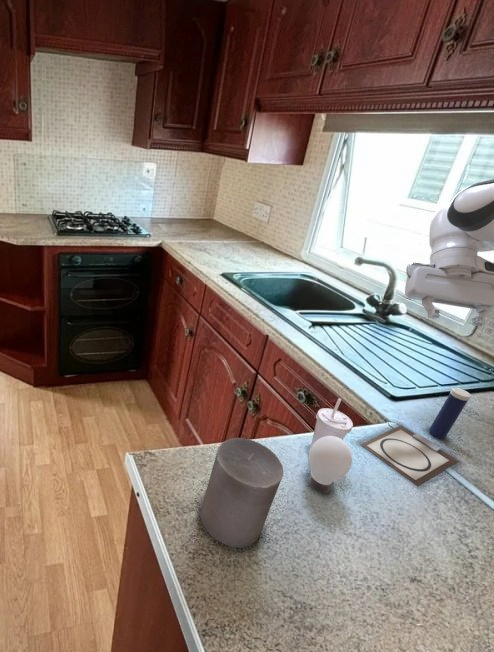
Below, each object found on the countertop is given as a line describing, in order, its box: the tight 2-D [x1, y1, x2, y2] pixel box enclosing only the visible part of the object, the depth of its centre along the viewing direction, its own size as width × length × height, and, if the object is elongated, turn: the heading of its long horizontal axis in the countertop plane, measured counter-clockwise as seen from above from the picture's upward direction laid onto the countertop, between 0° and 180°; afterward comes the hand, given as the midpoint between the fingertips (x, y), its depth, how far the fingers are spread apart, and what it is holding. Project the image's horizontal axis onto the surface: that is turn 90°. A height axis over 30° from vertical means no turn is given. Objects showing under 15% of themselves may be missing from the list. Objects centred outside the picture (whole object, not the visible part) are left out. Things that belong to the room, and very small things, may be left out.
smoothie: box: [309, 398, 354, 450], centre depth 79 cm, size 6×6×14 cm
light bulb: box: [307, 436, 353, 494], centre depth 72 cm, size 7×7×11 cm
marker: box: [428, 387, 472, 439], centre depth 89 cm, size 3×3×12 cm
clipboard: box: [359, 424, 460, 487], centre depth 85 cm, size 12×16×1 cm
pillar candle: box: [199, 437, 284, 549], centre depth 62 cm, size 10×10×15 cm
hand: (455, 321), depth 92 cm, fingers open, 8 cm apart
